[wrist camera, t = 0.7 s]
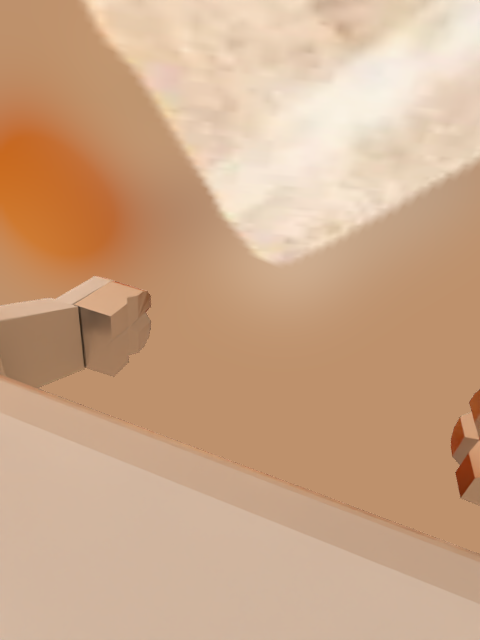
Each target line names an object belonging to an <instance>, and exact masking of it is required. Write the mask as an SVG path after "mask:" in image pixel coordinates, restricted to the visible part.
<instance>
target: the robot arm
mask: <svg viewBox="0 0 480 640" xmlns="http://www.w3.org/2000/svg"><path fill="white" fill-rule="evenodd" d="M150 307H151V296H150V294H149V293H148V291H145V290H142V289H139V288H135V287H132V286H129V285H126V284H123V283H120V282H117V281H113V280H110V279H107V278H103V277H98V276H94V277H92V278H91V279H89V280H87V281H86V282H84V283H82V284H80V285H79V286H77V287H75V288H73V289H72V290H70V291H68V292H67V293H65V294H63V295H61V296H60V297H58V298H56V299H52V298H45V299H38V300H32V301H26V302H19V303H13V304H8V305H0V640H480V554H478V553H475V552H473V551H470V550H468V549H465V548H462V547H460V546H457V545H454V544H452V543H449V542H446V541H444V540H441V539H438V538H436V537H433V536H430V535H428V534H425V533H423V532H420V531H417V530H415V529H412V528H409V527H407V526H404V525H401V524H399V523H396V522H393V521H391V520H388V519H385V518H382V517H380V516H377V515H375V514H372V513H369V512H367V511H364V510H361V509H359V508H356V507H353V506H351V505H348V504H345V503H343V502H340V501H337V500H335V499H332V498H329V497H327V496H324V495H321V494H319V493H316V492H313V491H311V490H308V489H305V488H303V487H300V486H298V485H294V484H292V483H289V482H287V481H284V480H281V479H279V478H276V477H273V476H271V475H268V474H265V473H263V472H259V471H257V470H254V469H252V468H249V467H246V466H244V465H241V464H238V463H236V462H233V461H230V460H228V459H225V458H222V457H220V456H217V455H214V454H212V453H209V452H206V451H204V450H201V449H198V448H195V447H193V446H190V445H187V444H185V443H182V442H179V441H177V440H174V439H172V438H169V437H166V436H164V435H161V434H158V433H155V432H153V431H150V430H147V429H145V428H142V427H139V426H136V425H134V424H132V423H129V422H126V421H124V420H121V419H118V418H115V417H113V416H110V415H108V414H105V413H102V412H100V411H97V410H94V409H92V408H89V407H86V406H84V405H81V404H78V403H75V402H73V401H70V400H68V399H65V398H62V397H60V396H57V395H54V394H51V393H49V392H46V391H44V390H41V389H38V388H39V387H42V386H44V385H47V384H49V383H52V382H54V381H56V380H59V379H61V378H64V377H66V376H69V375H71V374H74V373H76V372H79V371H81V370H84V368H88V369H91V370H94V371H97V372H101V373H103V374H107V375H110V376H113V377H114V376H115V375H116V374H117V373H118V372H119V371H120V370H121V369H123V367H124V366H125V365H127V363H129V355H132V354H136V353H138V352H139V351H140V350H141V349H142V348H143V347H144V346H145V344H146V342H147V340H148V338H149V334H150V330H151V320H150V319H149V317H148V315H147V313H146V312H147V310H148V309H149V308H150ZM469 404H470V408H471V412H470V413H468V414H465V415H463V416H460V418H459V420H458V422H457V423H456V425H455V427H454V429H453V433H452V437H451V452H452V457H453V458H454V459H455V460H456V461H457V462H458V464H459V465H460V466H459V468H458V469H457V471H456V472H455V473H456V478H457V483H458V488H459V493H460V498H461V499H464V500H466V501H469V502H472V503H474V504H477V505H480V389H479V390H478V391H477V392H476V393H475V394H474V395H473V397H472V398H471V400H470V402H469Z"/></svg>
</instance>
